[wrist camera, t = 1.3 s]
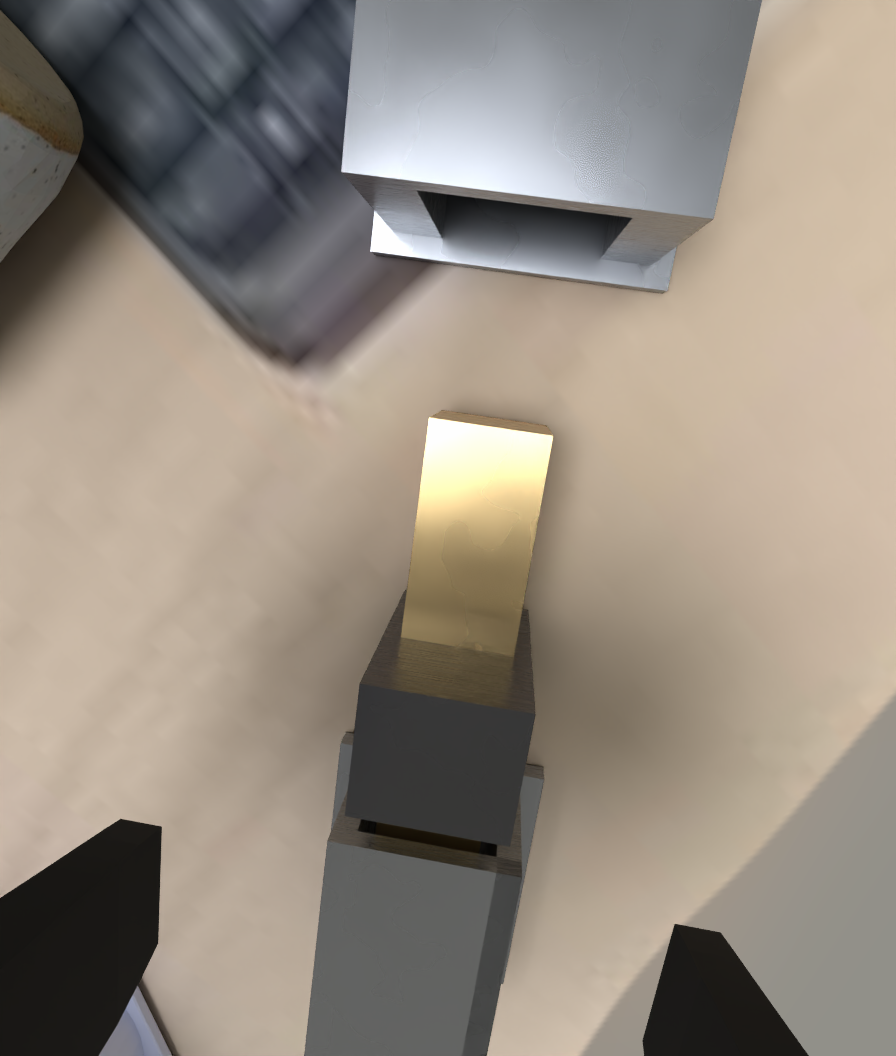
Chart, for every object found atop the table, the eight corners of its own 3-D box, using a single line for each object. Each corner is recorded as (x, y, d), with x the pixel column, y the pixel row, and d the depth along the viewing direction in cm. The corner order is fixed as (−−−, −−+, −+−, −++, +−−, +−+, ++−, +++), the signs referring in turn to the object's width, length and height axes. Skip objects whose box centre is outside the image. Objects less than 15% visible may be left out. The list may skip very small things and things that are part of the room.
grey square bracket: (662, 293, 16) (737, 255, 11) (374, 254, 16) (309, 199, 11) (721, 9, 14) (841, -197, 9) (403, -25, 15) (344, -240, 10)
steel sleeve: (503, 967, 21) (501, 1122, 17) (323, 931, 21) (275, 1074, 17) (543, 767, 19) (552, 883, 15) (345, 732, 20) (298, 835, 15)
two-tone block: (464, 960, 21) (448, 1167, 15) (360, 940, 21) (307, 1136, 15) (561, 426, 16) (585, 453, 11) (428, 406, 17) (389, 424, 11)
